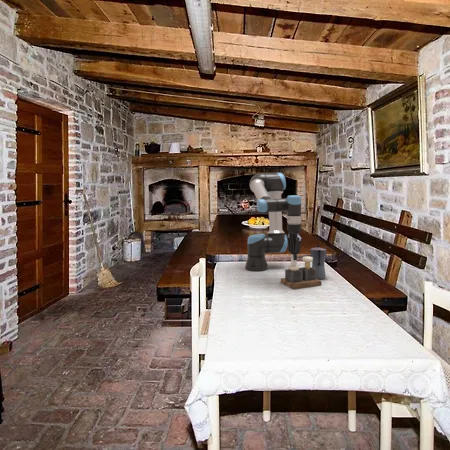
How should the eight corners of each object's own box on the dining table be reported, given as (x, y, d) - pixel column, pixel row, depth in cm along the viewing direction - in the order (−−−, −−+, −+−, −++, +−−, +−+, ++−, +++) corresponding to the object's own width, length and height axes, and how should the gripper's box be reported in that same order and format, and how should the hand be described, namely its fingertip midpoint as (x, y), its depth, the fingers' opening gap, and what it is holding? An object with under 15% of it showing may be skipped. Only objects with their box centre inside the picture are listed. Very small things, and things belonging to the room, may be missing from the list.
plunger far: (300, 270, 195) (300, 256, 194) (308, 269, 197) (309, 256, 196) (306, 272, 189) (306, 258, 189) (314, 271, 191) (314, 257, 190)
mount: (280, 282, 196) (280, 268, 195) (307, 279, 202) (307, 265, 201) (293, 289, 183) (293, 274, 182) (321, 285, 189) (321, 270, 188)
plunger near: (286, 279, 192) (286, 265, 191) (295, 278, 194) (295, 264, 193) (292, 281, 187) (292, 267, 186) (300, 280, 189) (300, 266, 188)
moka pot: (324, 274, 212) (324, 242, 210) (329, 281, 197) (329, 247, 194) (308, 274, 213) (308, 242, 210) (312, 281, 198) (312, 247, 195)
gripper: (282, 222, 191) (282, 263, 194) (294, 225, 179) (294, 268, 182) (293, 222, 194) (293, 262, 197) (306, 224, 182) (306, 267, 185)
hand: (293, 265), depth 189 cm, fingers closed
